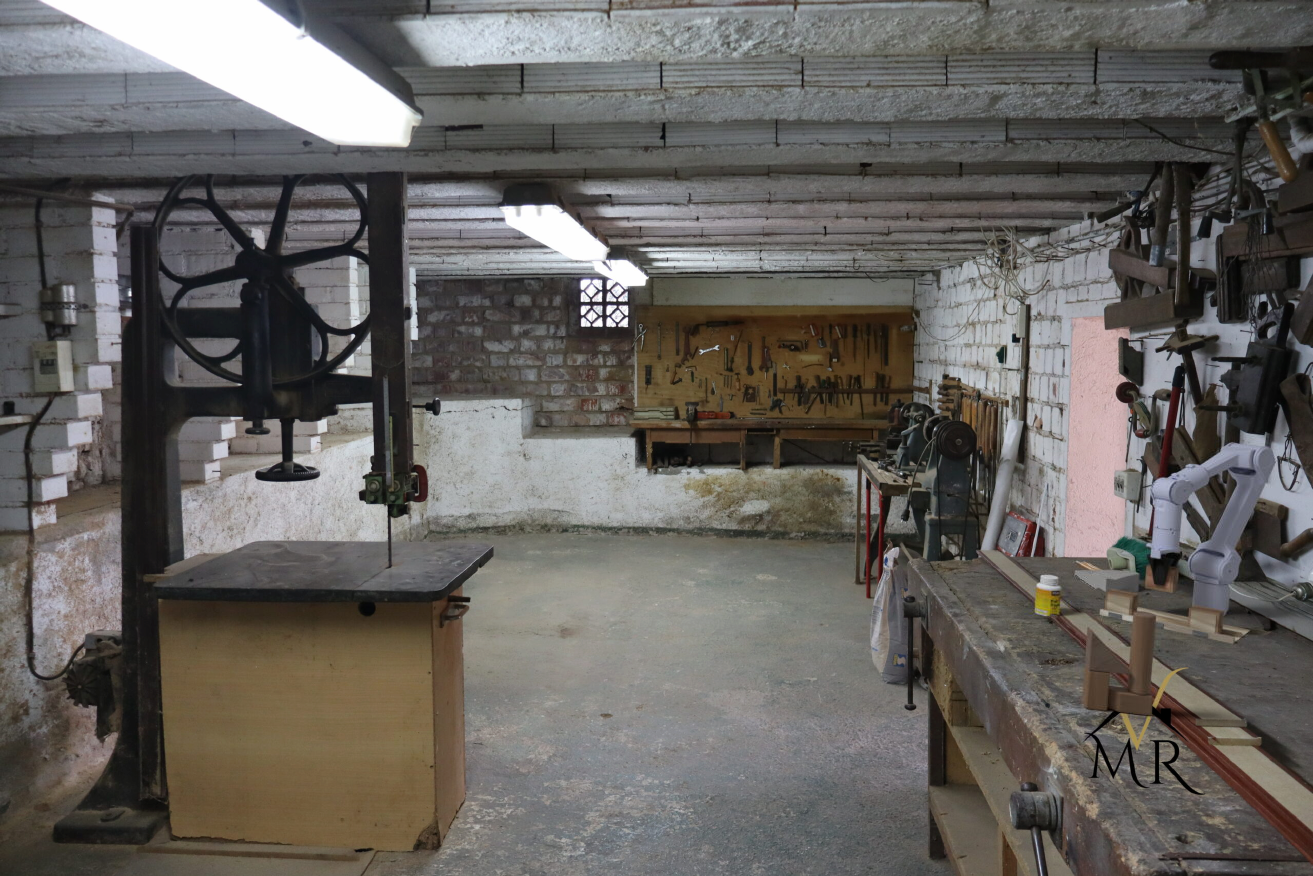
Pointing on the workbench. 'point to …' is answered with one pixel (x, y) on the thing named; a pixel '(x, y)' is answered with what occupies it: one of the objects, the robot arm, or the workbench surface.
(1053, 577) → the supplement bottle
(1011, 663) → the workbench surface
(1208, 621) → the faced block
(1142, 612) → the wooden block
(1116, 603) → the faced block
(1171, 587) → the turned block
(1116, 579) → the ramp
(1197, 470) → the robot arm
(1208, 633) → the long shallow wooden tray
